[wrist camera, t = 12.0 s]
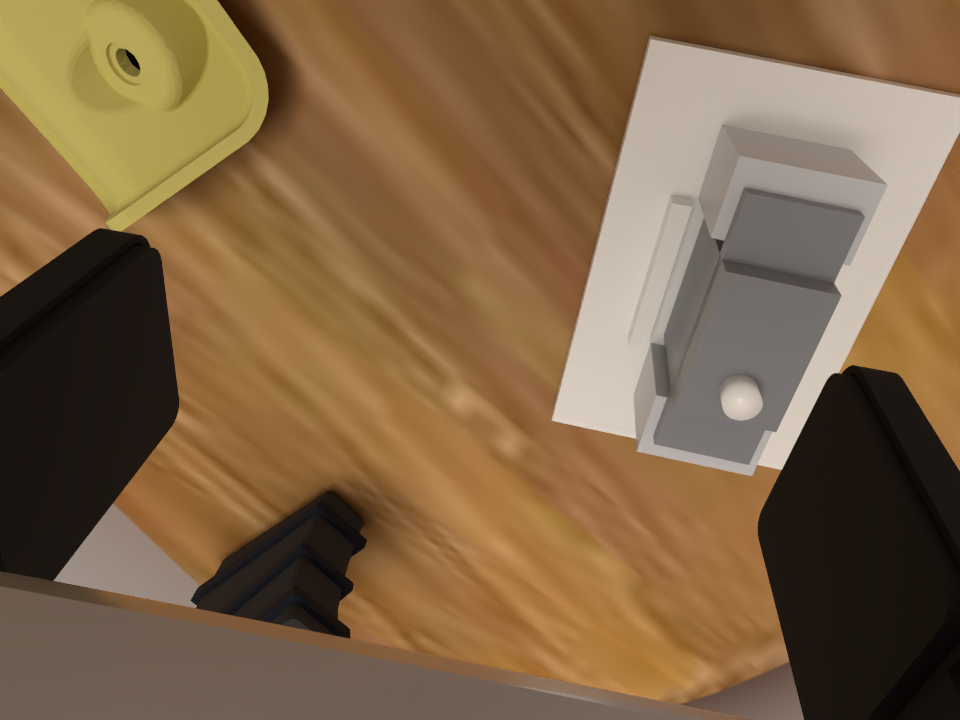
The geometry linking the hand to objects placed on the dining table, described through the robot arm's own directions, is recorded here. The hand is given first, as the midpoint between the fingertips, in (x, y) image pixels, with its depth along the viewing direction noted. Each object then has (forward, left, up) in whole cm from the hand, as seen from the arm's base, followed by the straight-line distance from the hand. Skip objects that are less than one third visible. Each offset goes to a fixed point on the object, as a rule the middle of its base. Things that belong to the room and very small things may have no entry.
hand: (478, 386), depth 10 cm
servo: (+7, +9, -22) cm, 24 cm away
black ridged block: (+29, -10, -23) cm, 38 cm away
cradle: (+7, +9, -22) cm, 25 cm away
